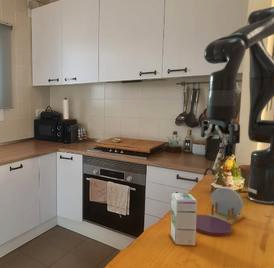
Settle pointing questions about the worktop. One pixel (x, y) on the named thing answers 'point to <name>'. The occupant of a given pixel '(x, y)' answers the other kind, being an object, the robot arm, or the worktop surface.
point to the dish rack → (225, 218)
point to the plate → (227, 201)
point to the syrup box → (183, 218)
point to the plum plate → (212, 226)
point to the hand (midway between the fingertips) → (217, 153)
